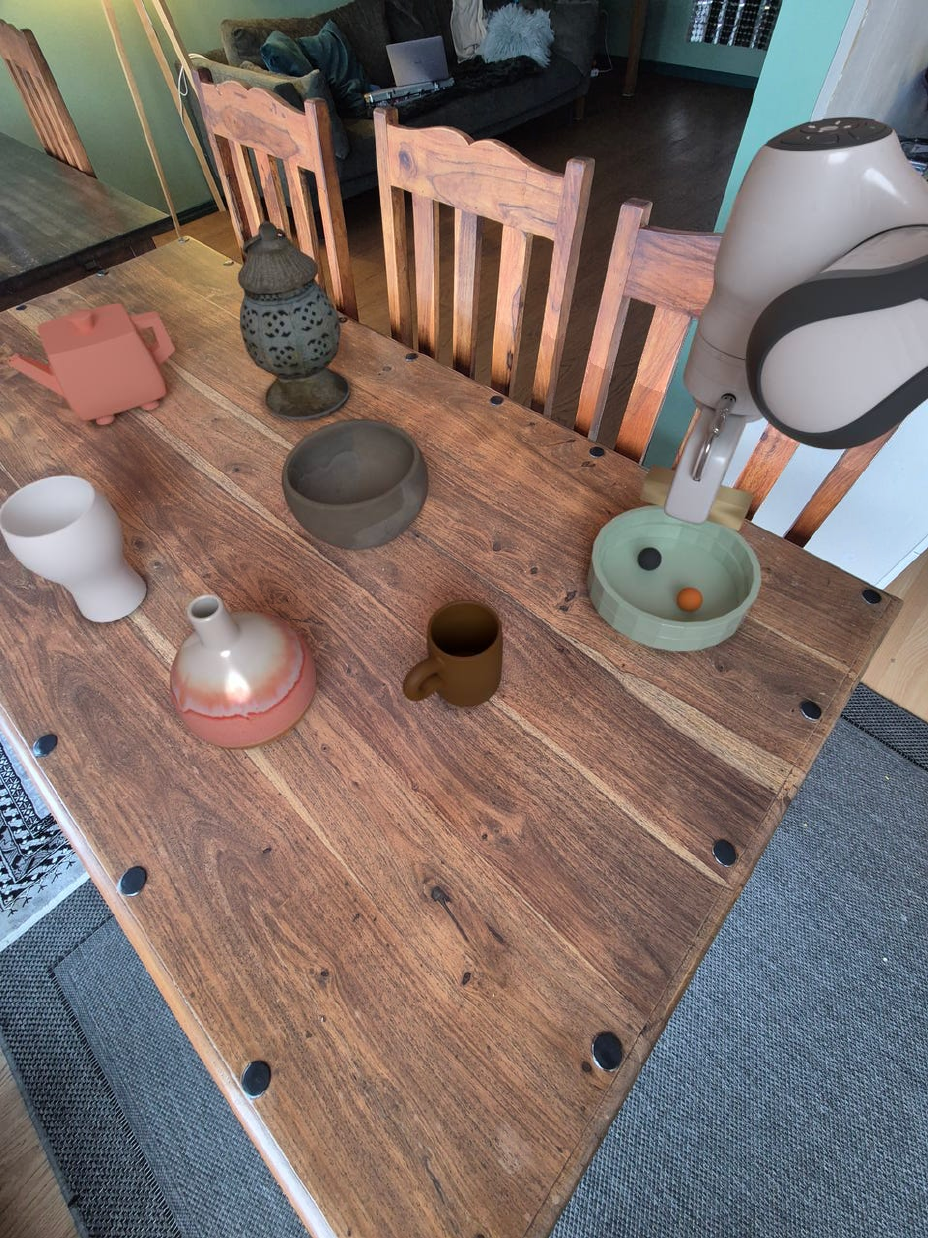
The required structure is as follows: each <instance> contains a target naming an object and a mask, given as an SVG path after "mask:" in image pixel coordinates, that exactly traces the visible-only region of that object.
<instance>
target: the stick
mask: <svg viewBox="0 0 928 1238" xmlns="http://www.w3.org/2000/svg"><path fill="white" fill-rule="evenodd" d="M674 473H675V470H673V469H670V468H667V467H664V466H660V465H656V464H651V466H650V468H649V470H648V472H647V474H646V476H645V477H644V480H643V481H644V482H643V485H642V489H641V492H640V496H639V500H641V501H644V502H647V503H650V504H653V505H659V506H662V507H664V504H665V500H666V497H667V494H668V491H669V488H670V485H671V482H672V479H673V476H674ZM754 496H755V495H754V494H753V493H750V492H746V491H743V490H740V489H737V488H733V487H729V486H727V485H724V484H721V487H720V489H719V491H718V494H717V496H716V499H715V501H714V503H713V506H712V508H711V511H710V513H709V516H708V518H707V519H706V521H709V522H713V523H716V524H719V525H722V526H725V527H728V528H731V529H734V530H735V531H737V532H739V531H740V529H741V527H742V525H743V523H744V521H745V519H746V516H747V514H748V512H749V509H750V507H751V504H752V502H753V499H754Z"/></svg>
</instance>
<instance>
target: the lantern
mask: <svg viewBox="0 0 928 1238" xmlns="http://www.w3.org/2000/svg"><path fill="white" fill-rule="evenodd" d="M242 252H244V254H246V258H245V261H244V263H243V264H242V266H241V268H240V269H239V271H238V274H237V282H238V284H239V286H240V287H241V289H242V290H243V292H244V295H243V299H242V302H241V305H240V308H239V329H240V333H241V337H242V340H243V343H244V347H245V350H246V352H247V354H248V355H249V357H250V359H251V360H252V361H253V363H254V365H255V366H257V367H258V368H260V369H261V370H263V371H264V372H267V373H269V374H270V375H272V376H274V377H276V378H275V380H274V381H273V382H272V383H271V384H270V385H269V387H268V389H267V390H266V392H265V400H264V401H265V404H266V406H267V408H268V410H269V411H270V412H271V413H272V414H274V415H275V416H277V417H278V418H281V419H285V420H288V421H298V422H304V421H305V422H306V421H313V420H319V419H321V418H324V417H328V416H330V415H332V414H334V413H336V412H337V411H339V410H340V409H341V408H342V407H344V406H345V405H346V403H347V402H348V400H349V399H350V396H351V387H350V383H349V382H348V380H347V378H345V377H344V376H343V375H341V374H339V372H336V371H335V370H333V369H331V368H328V367H329V366H330V364H331V363H332V362H333V360H334V359H335V358H336V356H337V354H338V350H339V344H340V339H341V333H342V329H341V324H340V318H339V313H338V312H337V310H336V308H335V306H334V304H333V303H332V301H331V299H330V298H329V296H328V295H327V293H326V292H325V290H324V289H323V288H322V287H321V285H320V284H319V283H318V282H317V280H316V279H315V278H316V277H317V275H318V273H319V268H318V264H317V262H316V260H314V258H313V257H311V256H310V255H308V254H307V253H305V252H304V251H301V250H300V249H299V248H298V247H297V245H295V244H294V242H292V241H291V239H290V238H289V237H287V234H286V232H285V231H284V229H282V228H278V227H277V226H276V224H274V223H273V222H271V221H268V220H265V221H262V222H261V223H260V224H259V226H258V228H257V234H256V235H254V236H253V237H250V238H249V239H248V240H246V242H245V243H243V246H242Z"/></svg>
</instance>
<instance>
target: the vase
mask: <svg viewBox="0 0 928 1238" xmlns="http://www.w3.org/2000/svg"><path fill="white" fill-rule="evenodd" d="M186 616H187V618H188V619H189V622H190V624H191V625H192V627H193V630H192V631H191V632H190V633H189V634H188V635H187V636H186V638H185V639H184V640H183V642H182V643H181V644H180V646H179V648H178V650H176V651H177V652H176V653H175V655H174V658H173V661H172V664H171V667H170V673H169V691H170V696H171V700H172V704H173V706H174V709H175V710H176V714H177V716H178V717H179V719H180V721H181V722H182V723H183V724H184V726H185V727H186V728H187V729H188V730H189V731H190V732H191V733H192V734H193V735H194V736H195V737H196V738H198V739H200V740H201V741H203V742H205V743H206V744H209V745H211V746H214V747H216V748H220V749H225V750H232V751H245V750H254V749H258V748H262V747H265V746H267V745H270V744H273V743H274V742H277V741H278V740H280V739H282V738H284V737H285V736H286V735H287V734H289V733H291V732H292V731H293V730H294V729H295V728H296V727H297V726H298V725H299V724H300V723H301V721H302V720H303V719H304V718H305V716H306V715H307V713H308V711H309V709H310V708H311V706H312V703H313V701H314V698H315V694H316V690H317V684H318V673H317V667H316V662H315V658H314V656H313V653H312V650H311V649H310V647H309V645H308V644H307V642H306V640H305V638H303V637H302V636H301V635H300V633H299V632H297V630H296V629H295V628H293V626H291V625H290V624H288V623H287V622H285V621H284V620H282V619H280V618H278V617H276V616H274V615H271V614H268V613H264V612H260V611H254V610H236V611H230V610H229V609H228V607H227V605H226V603H225V601H224V600H223V599H222V597H220V596H219V595H217V594H215V593H203V594H200V595H197V596H196V597H194V598H193V599H192V600H191V601H190V602H189V604H188V605H187V608H186Z"/></svg>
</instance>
